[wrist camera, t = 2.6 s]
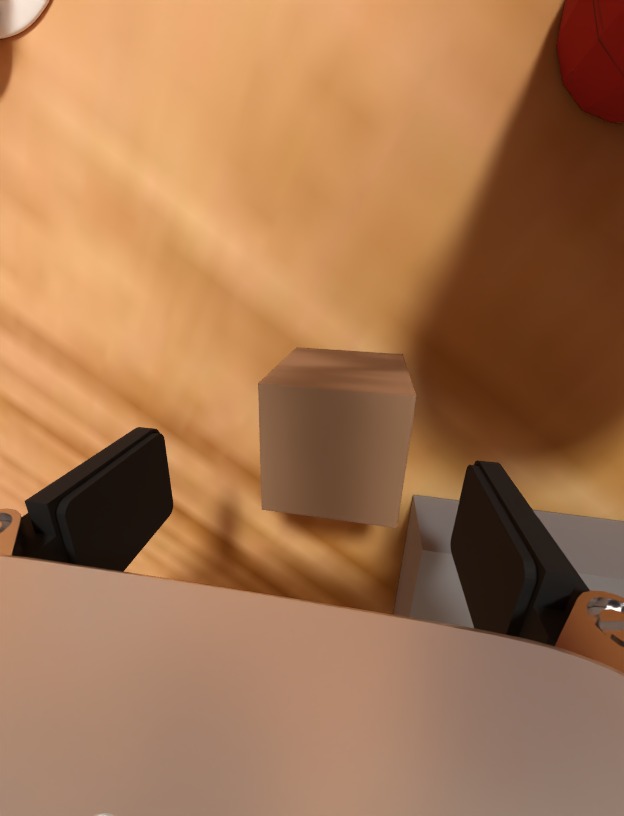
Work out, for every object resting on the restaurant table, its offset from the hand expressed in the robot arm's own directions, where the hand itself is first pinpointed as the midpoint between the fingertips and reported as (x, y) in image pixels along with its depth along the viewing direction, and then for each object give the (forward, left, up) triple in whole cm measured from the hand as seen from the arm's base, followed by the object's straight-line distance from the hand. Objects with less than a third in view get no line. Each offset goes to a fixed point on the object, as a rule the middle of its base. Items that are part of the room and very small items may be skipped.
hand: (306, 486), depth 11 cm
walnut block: (-1, 0, -8) cm, 7 cm away
